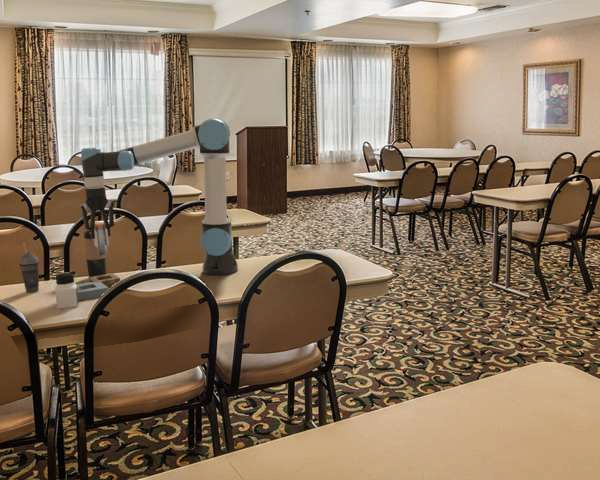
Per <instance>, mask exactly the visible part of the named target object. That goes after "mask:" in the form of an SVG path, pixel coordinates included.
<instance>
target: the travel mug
mask: <svg viewBox="0 0 600 480" xmlns="http://www.w3.org/2000/svg"><path fill="white" fill-rule="evenodd" d="M83 237H84V248H85V257H86V258H85V259H86V265H87V266H86V267H87V273H88V274H87V275H88V277H94V276H100V275H106V274H107V264H106V263H107V262H106V255H98V248H97V247H96V246H95V244H94V239H92V238H91V233H90V230H86V231H84V232H83Z"/></svg>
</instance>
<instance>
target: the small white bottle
mask: <svg viewBox="0 0 600 480" xmlns="http://www.w3.org/2000/svg"><path fill="white" fill-rule="evenodd" d="M105 228H106V227H105V225H104V223H102V224H101V223H98V224H95V228H94V230H96V231H97V239H98V247H97V248H98V255H105V256H106V255H108V254H109V253H108V247H107V246H108V245H107V244H106V236H105Z"/></svg>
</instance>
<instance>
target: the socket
mask: <svg viewBox="0 0 600 480" xmlns="http://www.w3.org/2000/svg"><path fill="white" fill-rule="evenodd" d="M76 286H77V295H78V302H79V301H83V300H88V299H89V300H90V299H95V298H101V297H102V296H101V295H102V294H103V293H105V292H106V291H107V290H108V291H109V287H107V286H105V285H104V284H103V283H101V282H99V281H98V282H91V283H89V282H85V283H81V284H76ZM100 296H101V297H100Z"/></svg>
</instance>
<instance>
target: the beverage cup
mask: <svg viewBox="0 0 600 480" xmlns="http://www.w3.org/2000/svg"><path fill="white" fill-rule="evenodd" d="M25 243H26V242H24V241H23V242H22V244H23V245H22V246H23V248H24V254H22V255H21V256H20V258H19V262H18V265H19V269H20V271H21V275H22V280H23V284H24V287H25V288H24V290H25V292H26V293H27V294H33V293H34V294H35V293H37V292H38V293H39V291H40V290H39V288H40V286H39V285H40V284H39V279H40V277H39V266H40V261H39V258H38V257H37V255H35V254H34V253H31V252H27V247H26V244H25Z"/></svg>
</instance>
